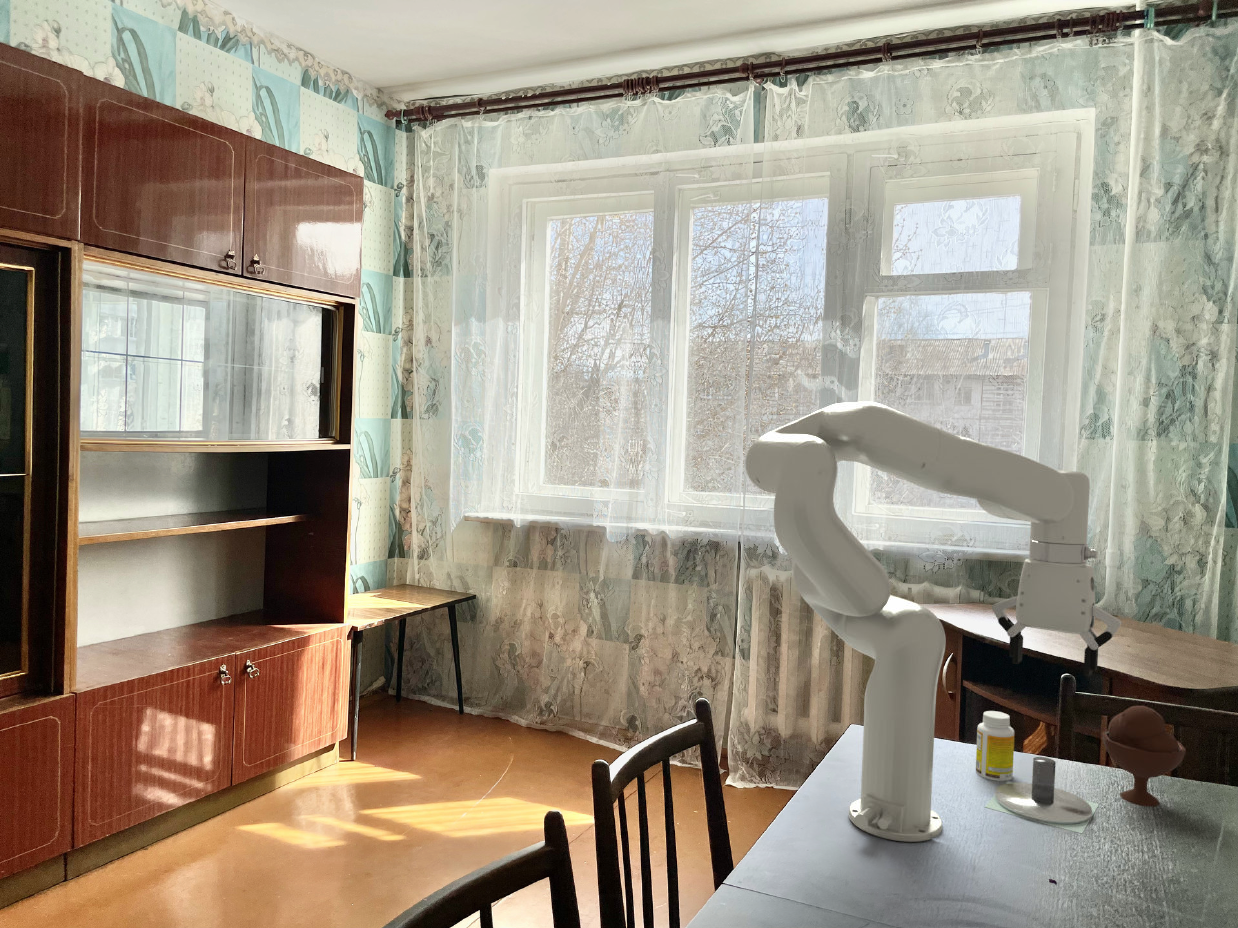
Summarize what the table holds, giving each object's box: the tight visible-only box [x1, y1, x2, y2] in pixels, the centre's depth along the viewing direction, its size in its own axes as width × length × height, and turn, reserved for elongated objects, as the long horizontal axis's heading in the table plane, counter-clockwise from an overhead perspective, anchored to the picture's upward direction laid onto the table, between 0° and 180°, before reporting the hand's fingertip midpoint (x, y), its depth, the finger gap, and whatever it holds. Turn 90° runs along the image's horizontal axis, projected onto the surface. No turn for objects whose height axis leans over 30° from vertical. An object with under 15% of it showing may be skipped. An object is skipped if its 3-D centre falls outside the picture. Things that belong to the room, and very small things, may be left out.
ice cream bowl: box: [1101, 705, 1187, 808], centre depth 135 cm, size 11×11×15 cm
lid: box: [994, 756, 1093, 825], centre depth 132 cm, size 13×13×7 cm
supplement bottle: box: [975, 710, 1015, 782], centre depth 143 cm, size 6×6×10 cm
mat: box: [984, 780, 1100, 835], centre depth 132 cm, size 13×13×1 cm
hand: (1051, 668), depth 131 cm, fingers open, 9 cm apart
